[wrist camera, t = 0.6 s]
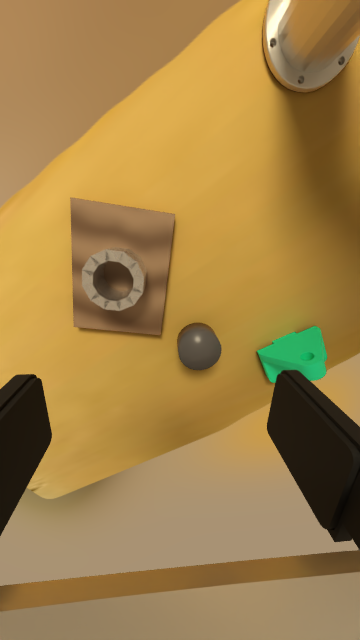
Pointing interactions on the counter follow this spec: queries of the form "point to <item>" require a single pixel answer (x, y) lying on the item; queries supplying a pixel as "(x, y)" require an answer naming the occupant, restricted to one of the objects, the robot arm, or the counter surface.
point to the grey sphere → (198, 346)
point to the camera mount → (296, 355)
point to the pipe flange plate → (119, 266)
